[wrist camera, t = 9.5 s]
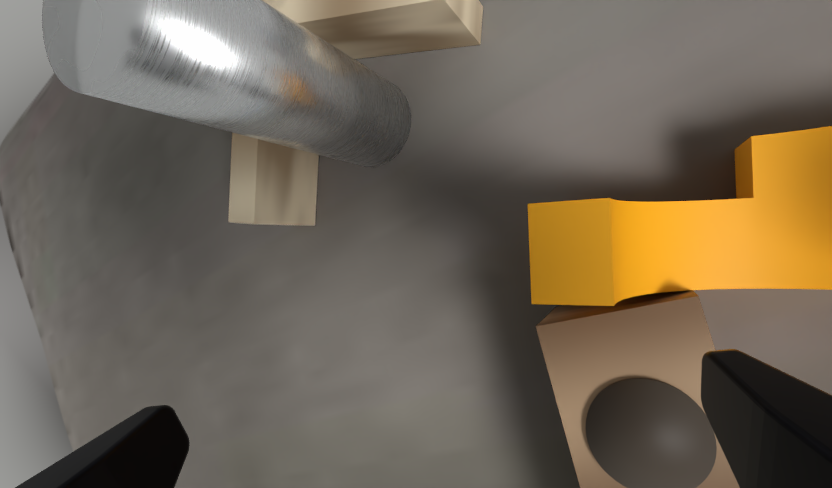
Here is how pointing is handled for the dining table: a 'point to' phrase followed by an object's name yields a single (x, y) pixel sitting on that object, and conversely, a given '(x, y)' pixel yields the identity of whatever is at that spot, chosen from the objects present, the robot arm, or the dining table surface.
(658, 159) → the dining table surface
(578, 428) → the beam
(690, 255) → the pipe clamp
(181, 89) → the axle
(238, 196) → the v block
